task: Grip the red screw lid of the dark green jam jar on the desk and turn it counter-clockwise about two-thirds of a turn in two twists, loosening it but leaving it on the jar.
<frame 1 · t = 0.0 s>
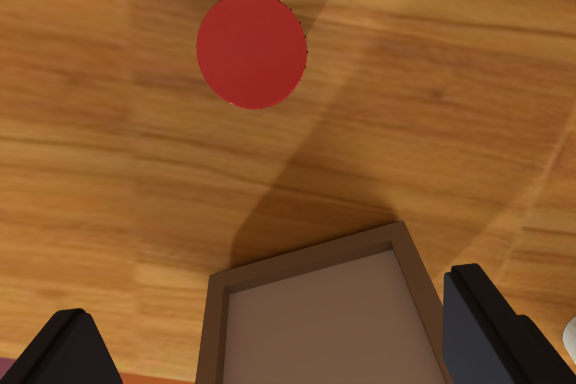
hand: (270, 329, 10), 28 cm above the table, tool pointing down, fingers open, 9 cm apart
photo frame: (322, 293, 44), on the table
jam lid: (252, 53, 23), point 11 cm above the table, screwed on, not yet turned
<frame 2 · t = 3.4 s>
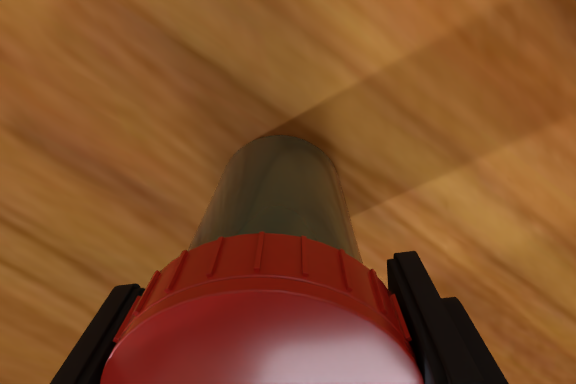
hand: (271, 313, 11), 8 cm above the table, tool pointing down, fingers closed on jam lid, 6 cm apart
jam jar: (280, 192, 18), on the table
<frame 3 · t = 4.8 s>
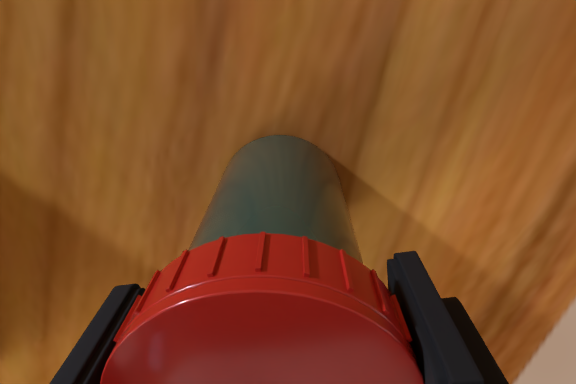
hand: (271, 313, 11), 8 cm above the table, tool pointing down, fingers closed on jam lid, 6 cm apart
jam jar: (280, 191, 18), on the table
when the fingers open (7 cm above the table, at t = 6.2 s): jam lid stays where it is, point 11 cm above the table.
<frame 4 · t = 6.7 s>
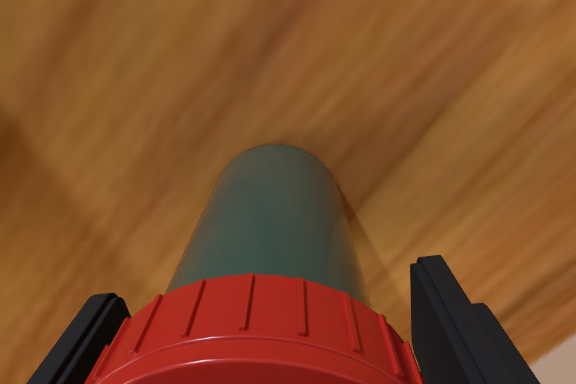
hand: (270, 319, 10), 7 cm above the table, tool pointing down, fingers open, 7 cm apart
jam jar: (276, 204, 17), on the table
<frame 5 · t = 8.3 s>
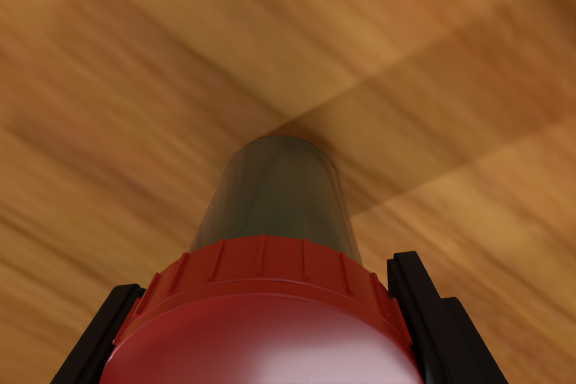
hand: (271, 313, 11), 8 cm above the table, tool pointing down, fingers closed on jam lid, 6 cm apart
jam jar: (280, 192, 18), on the table
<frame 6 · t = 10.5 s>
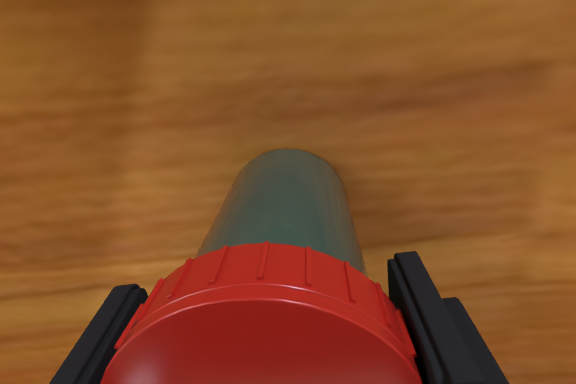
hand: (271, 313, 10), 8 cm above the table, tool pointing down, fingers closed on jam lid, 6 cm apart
jam jar: (288, 205, 18), on the table
when the fingers open (7 cm above the table, at t = 11.5 s): jam lid stays where it is, point 11 cm above the table.
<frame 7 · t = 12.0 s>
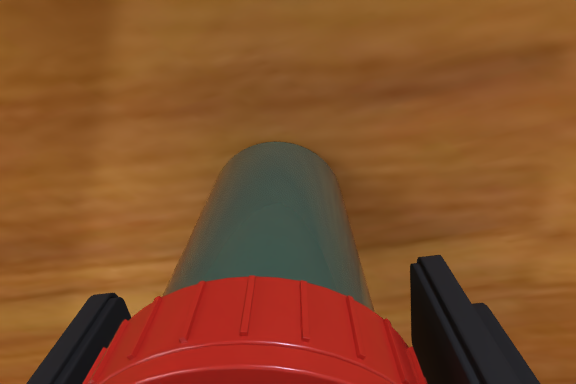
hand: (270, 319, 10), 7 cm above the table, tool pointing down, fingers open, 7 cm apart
jam jar: (277, 202, 17), on the table
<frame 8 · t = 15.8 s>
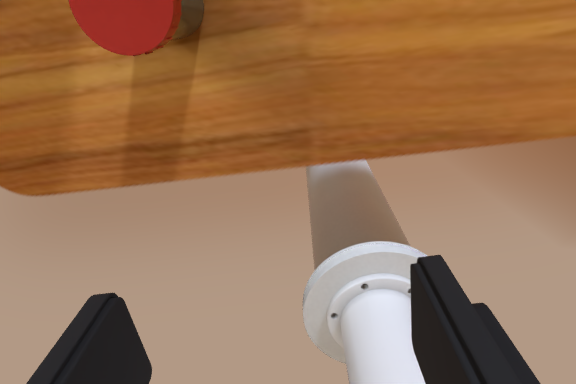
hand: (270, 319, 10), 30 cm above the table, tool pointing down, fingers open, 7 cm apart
jam jar: (173, 5, 34), on the table
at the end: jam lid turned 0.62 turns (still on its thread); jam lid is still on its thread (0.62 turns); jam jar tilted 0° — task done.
